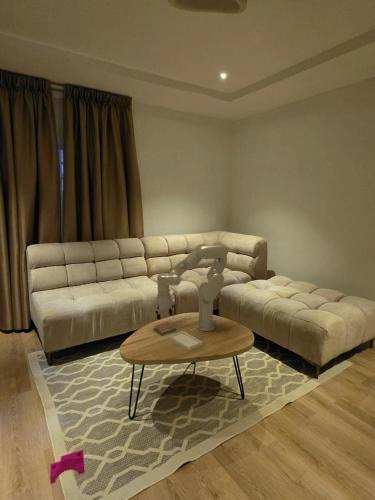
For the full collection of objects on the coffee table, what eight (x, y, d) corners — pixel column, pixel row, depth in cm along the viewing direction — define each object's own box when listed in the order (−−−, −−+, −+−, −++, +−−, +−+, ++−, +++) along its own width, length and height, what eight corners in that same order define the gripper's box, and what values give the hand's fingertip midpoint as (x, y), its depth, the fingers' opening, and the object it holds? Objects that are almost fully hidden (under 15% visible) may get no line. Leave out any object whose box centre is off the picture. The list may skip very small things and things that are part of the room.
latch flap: (167, 322, 206) (167, 321, 205) (174, 327, 200) (174, 326, 200) (154, 327, 199) (154, 325, 199) (161, 332, 193) (161, 330, 193)
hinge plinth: (168, 326, 207) (168, 322, 206) (176, 331, 199) (176, 326, 199) (153, 331, 199) (153, 326, 199) (161, 336, 192) (161, 331, 191)
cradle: (182, 334, 195) (182, 330, 195) (202, 345, 181) (202, 341, 180) (168, 338, 188) (168, 335, 188) (188, 350, 174) (188, 347, 173)
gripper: (170, 288, 204) (172, 312, 207) (149, 294, 194) (150, 319, 197) (177, 290, 199) (178, 315, 202) (155, 297, 188) (157, 322, 191)
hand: (164, 317), depth 199 cm, fingers open, 9 cm apart
